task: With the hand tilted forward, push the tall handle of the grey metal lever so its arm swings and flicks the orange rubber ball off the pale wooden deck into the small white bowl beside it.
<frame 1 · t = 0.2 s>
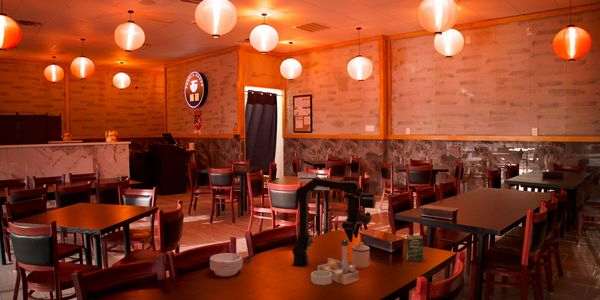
hand: (353, 239, 211), 15 cm above the table, tool pointing down, fingers open, 9 cm apart
small white bowl: (321, 281, 197), on the table
coffee box: (414, 261, 227), on the table
teacup with lid: (359, 265, 221), on the table
lever: (338, 251, 201), point 12 cm above the table, hinge at 0.0°
paper bowls: (226, 273, 209), on the table
ball: (332, 264, 203), point 6 cm above the table, touching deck
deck: (351, 280, 198), on the table
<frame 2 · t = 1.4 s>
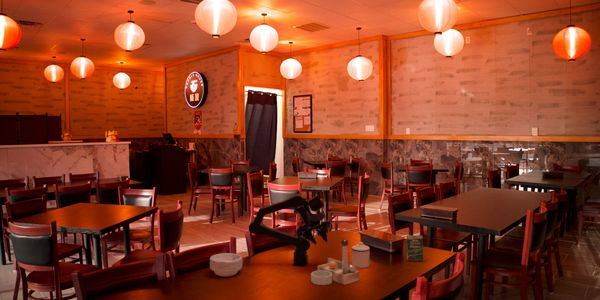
hand: (321, 242, 211), 14 cm above the table, tool tilted 45°, fingers open, 7 cm apart
nothing on the table moved.
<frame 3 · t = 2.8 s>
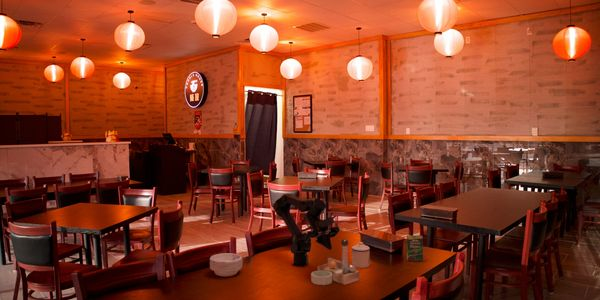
hand: (330, 249, 202), 13 cm above the table, tool tilted 45°, fingers closed
nothing on the table moved.
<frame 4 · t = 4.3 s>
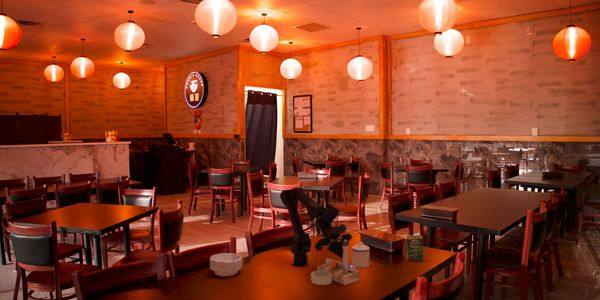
hand: (342, 257, 196), 11 cm above the table, tool tilted 45°, fingers closed, pressing on lever
lever: (337, 252, 201), point 12 cm above the table, hinge at 5.6°, touching gripper
everything else where it was.
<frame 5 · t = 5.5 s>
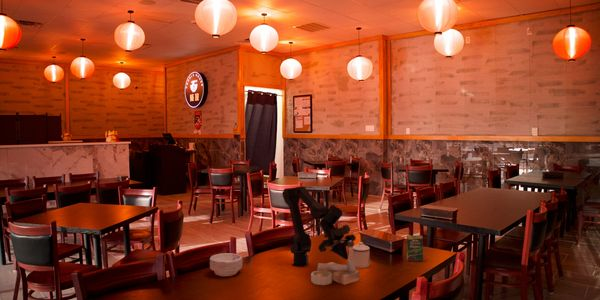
hand: (346, 259, 194), 11 cm above the table, tool tilted 45°, fingers closed
lever: (336, 254, 197), point 12 cm above the table, hinge at 39.8°, touching gripper
ball: (319, 277, 195), point 2 cm above the table, tilted 34°, touching small white bowl
everything else where it was.
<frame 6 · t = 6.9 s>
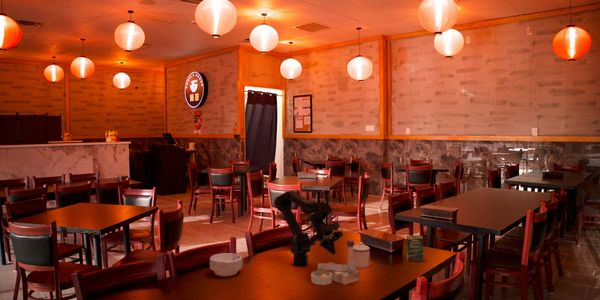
hand: (334, 254, 201), 11 cm above the table, tool tilted 40°, fingers closed
lever: (336, 254, 197), point 12 cm above the table, hinge at 40.5°
ball: (324, 278, 195), point 2 cm above the table, tilted 93°, touching small white bowl
everything else where it was.
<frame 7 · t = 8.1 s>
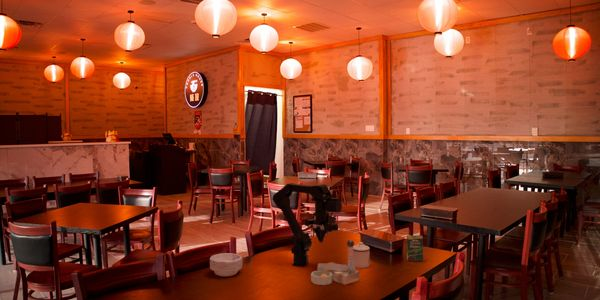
hand: (321, 242, 214), 13 cm above the table, tool pointing down, fingers closed
nothing on the table moved.
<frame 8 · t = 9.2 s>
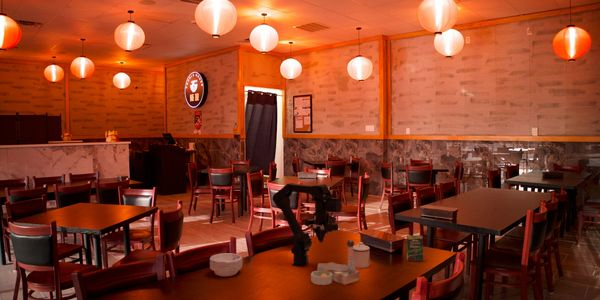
hand: (321, 242, 214), 13 cm above the table, tool pointing down, fingers closed
nothing on the table moved.
at the end: ball 1.8 cm off-centre on the small white bowl, point 2.2 cm above the small white bowl's base; lever at +40° (first picture: +0°) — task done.
